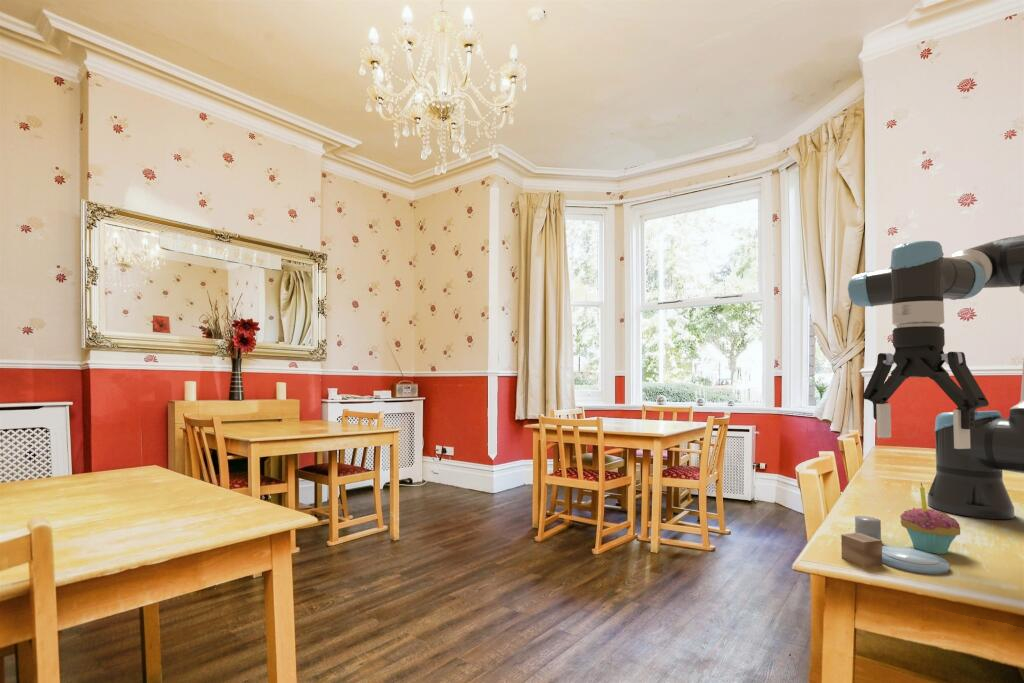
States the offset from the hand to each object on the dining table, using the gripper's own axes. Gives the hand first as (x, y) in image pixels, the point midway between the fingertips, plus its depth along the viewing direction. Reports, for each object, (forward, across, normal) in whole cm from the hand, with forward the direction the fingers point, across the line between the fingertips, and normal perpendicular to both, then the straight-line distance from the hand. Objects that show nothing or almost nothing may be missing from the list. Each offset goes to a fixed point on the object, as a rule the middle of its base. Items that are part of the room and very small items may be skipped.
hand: (920, 442), depth 94 cm
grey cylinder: (+19, -6, -6) cm, 21 cm away
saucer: (+19, +5, -10) cm, 22 cm away
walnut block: (+19, +2, -17) cm, 26 cm away
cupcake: (+19, 0, +1) cm, 19 cm away
